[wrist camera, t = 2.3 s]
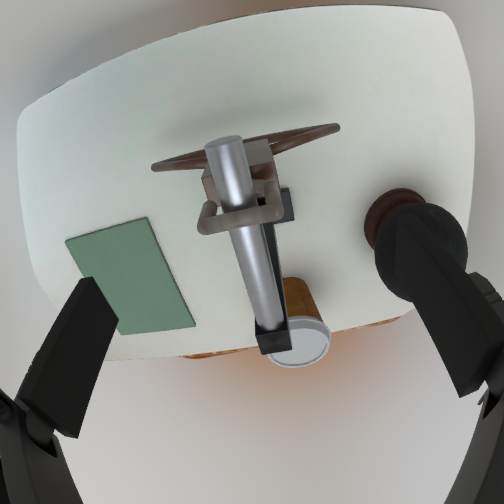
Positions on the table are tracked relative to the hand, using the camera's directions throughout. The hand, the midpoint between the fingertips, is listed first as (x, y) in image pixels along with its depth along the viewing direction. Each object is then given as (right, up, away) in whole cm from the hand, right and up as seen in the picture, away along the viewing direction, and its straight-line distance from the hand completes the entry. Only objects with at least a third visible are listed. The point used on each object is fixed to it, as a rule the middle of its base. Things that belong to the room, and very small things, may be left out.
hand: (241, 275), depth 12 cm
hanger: (-1, +12, +19) cm, 23 cm away
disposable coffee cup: (+7, -6, +38) cm, 38 cm away
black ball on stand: (+22, +6, +31) cm, 38 cm away
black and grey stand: (0, +12, +26) cm, 28 cm away
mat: (-20, -5, +36) cm, 42 cm away
